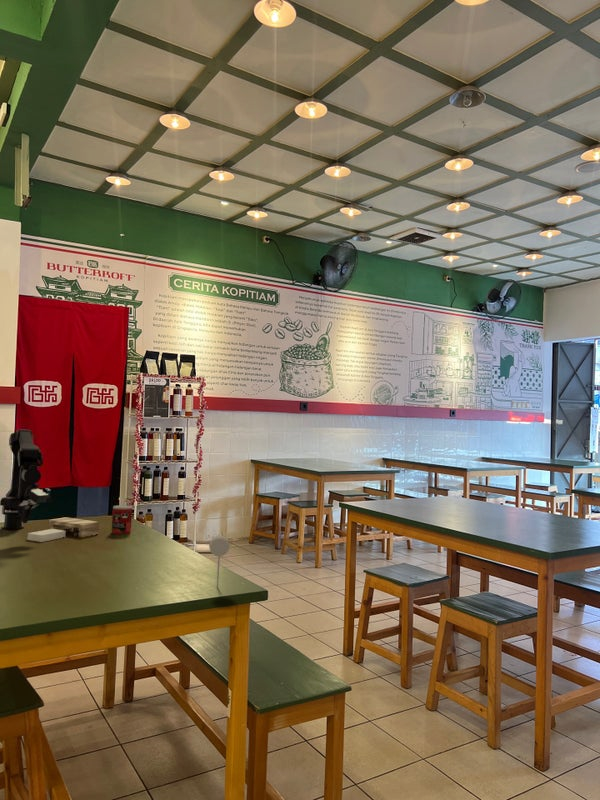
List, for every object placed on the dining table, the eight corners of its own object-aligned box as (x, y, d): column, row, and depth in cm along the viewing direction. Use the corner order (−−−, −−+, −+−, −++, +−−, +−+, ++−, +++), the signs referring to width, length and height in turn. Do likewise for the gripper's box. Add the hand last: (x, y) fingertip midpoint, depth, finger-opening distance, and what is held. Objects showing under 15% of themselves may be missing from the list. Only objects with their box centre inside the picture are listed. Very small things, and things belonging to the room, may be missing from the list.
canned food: (107, 533, 249) (109, 506, 250) (118, 530, 257) (120, 504, 257) (123, 535, 247) (125, 508, 247) (134, 532, 255) (135, 506, 255)
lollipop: (218, 583, 181) (220, 533, 181) (231, 587, 177) (234, 536, 177) (202, 587, 176) (205, 535, 176) (216, 591, 172) (219, 539, 173)
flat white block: (27, 539, 229) (28, 533, 229) (52, 535, 240) (52, 528, 240) (41, 542, 226) (41, 535, 227) (65, 537, 237) (65, 530, 238)
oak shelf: (48, 532, 246) (49, 519, 246) (65, 529, 254) (65, 517, 254) (82, 537, 238) (83, 524, 239) (98, 534, 247) (99, 521, 247)
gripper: (22, 484, 213) (19, 529, 212) (62, 481, 230) (60, 522, 229) (0, 482, 217) (-3, 525, 216) (41, 478, 234) (38, 519, 233)
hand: (24, 523), depth 224 cm, fingers closed
